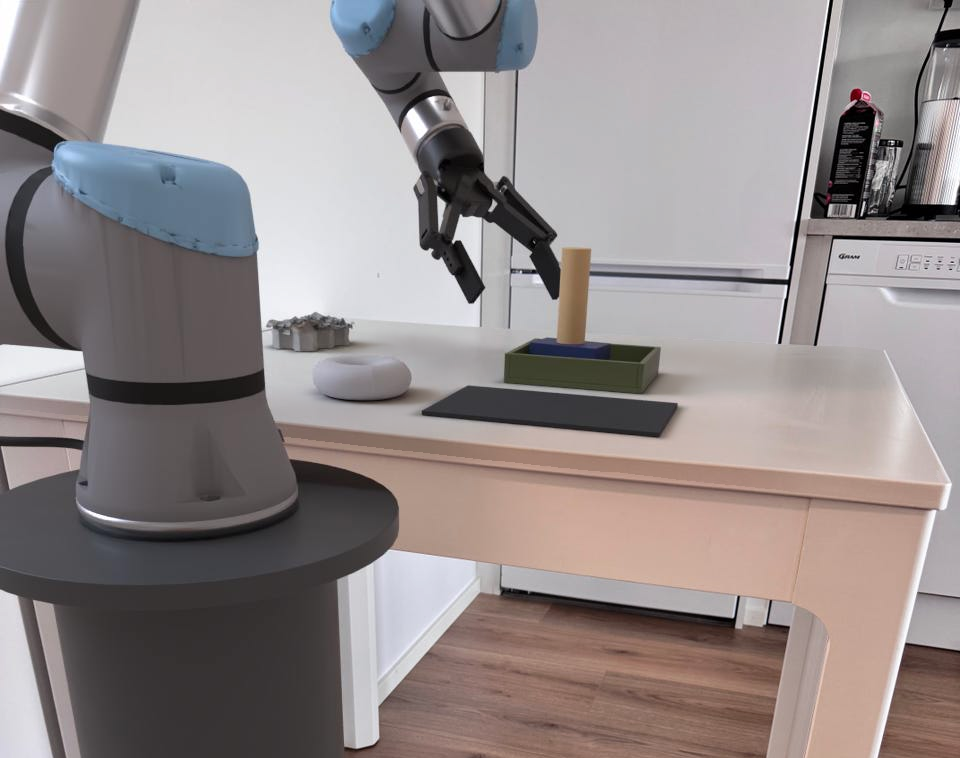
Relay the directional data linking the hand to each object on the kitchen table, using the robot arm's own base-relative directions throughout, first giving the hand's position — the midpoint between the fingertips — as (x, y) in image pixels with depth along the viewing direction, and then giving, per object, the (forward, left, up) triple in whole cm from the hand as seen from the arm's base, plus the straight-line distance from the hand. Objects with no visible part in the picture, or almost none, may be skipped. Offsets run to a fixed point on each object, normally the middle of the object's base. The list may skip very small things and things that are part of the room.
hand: (520, 294), depth 111 cm
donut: (-10, -24, -8) cm, 27 cm away
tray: (+9, -5, -8) cm, 13 cm away
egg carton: (-29, +3, -8) cm, 30 cm away
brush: (+7, -4, -8) cm, 11 cm away
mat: (+10, -24, -8) cm, 27 cm away
